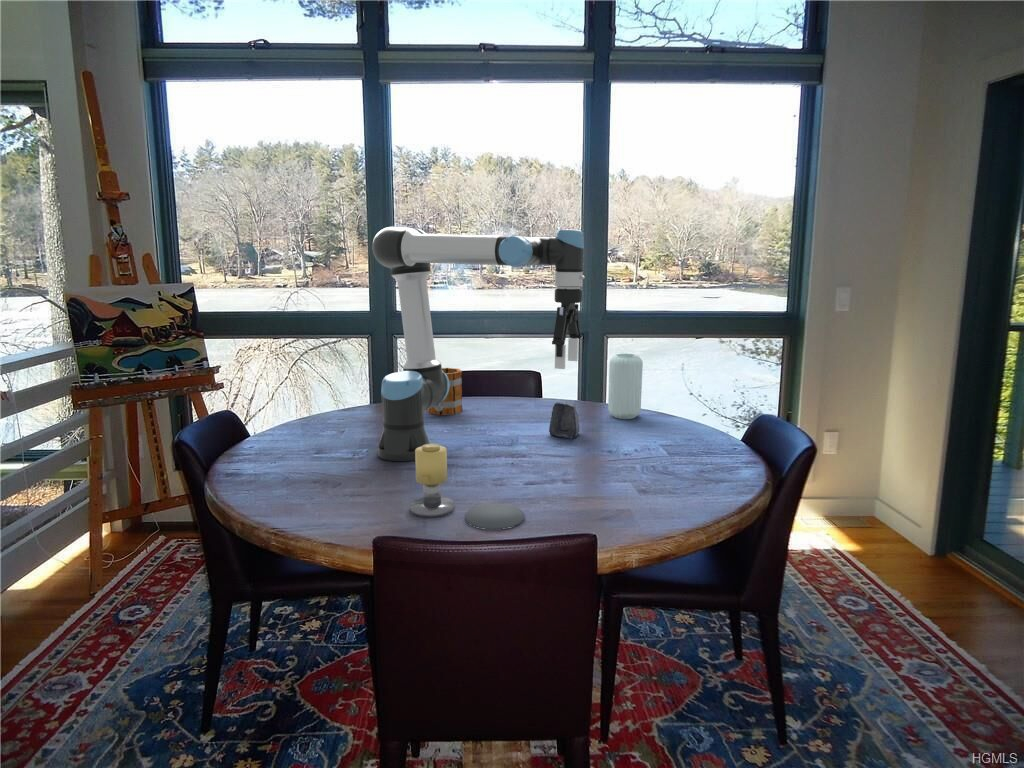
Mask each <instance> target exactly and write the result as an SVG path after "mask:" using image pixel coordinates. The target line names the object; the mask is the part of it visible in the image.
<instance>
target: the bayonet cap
mask: <svg viewBox="0 0 1024 768" xmlns="http://www.w3.org/2000/svg"><path fill="white" fill-rule="evenodd" d="M414 461H415V481H416V482H417V483H418V484H420V485H423V484H425V485H435V484H444V483H445V482H446V481H448V449H447V447H446V446H443V445H441V444H439V443H430V444H425V445H423V446H421V447H418V448H416V449H415V460H414Z"/></svg>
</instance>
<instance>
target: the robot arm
mask: <svg viewBox="0 0 1024 768" xmlns="http://www.w3.org/2000/svg"><path fill="white" fill-rule="evenodd" d="M584 238H585V237H584V232H583V231H582V230H579V229H557V230H556V232H555V235H554V236H551V237H550V236H549V237H546V236H545V237H544V236H540V237H539V236H522V235H515V234H514V235H485V234H484V235H479V234H478V235H476V234H475V235H474V234H472V235H471V234H431V233H426V232H425V231H423V230H421V229H419V228H417V227H416V228H415V227H398V226H388V227H384V228H383V229H381V230H379V231H378V232H377V233H376V235H375V236H374V238H373V241H372V246H371V249H372V254H373V256H374V258H375V260H376V261H377V262H378V263H379V264H380V265H381V266H383V267H385V268H388V269H390V274H391V277H392V278H393V279H395V281H397V286H398V287H397V288H398V289H397V290H398V297H399V305H400V312H401V321H402V327H403V328H402V329H403V337H404V345H405V346H404V347H405V353H406V362H405V363H404V365H403V366H402V371H398V372H397V371H396V372H392V373H389V374H387V375H385V376H384V377H383V379H382V381H381V388H380V389H381V390H380V393H381V408H382V411H381V412H382V432H381V435H380V439H379V442H378V446H377V456H378V458H380V459H381V460H382V459H383V460H386V461H392V462H411V461H415V449H416V448H418V447H421V446H423V445H425V444H431V443H430V441H429V437H428V435H427V432H426V429H425V421H424V420H425V419H424V415H425V414H424V412H425V411H427V409H429V408H432V407H435V406H437V405H438V404H440V403H441V402H442V401H443V400H444V399H445V398H446V396H447V395H448V392H449V387H450V384H449V379H448V377H447V375H446V374H445V373H444V372H443V370H442V368H443V367H442V362H441V361H440V360H439V359H438V358H436V352H435V351H436V350H435V342H434V341H435V340H434V334H433V325H432V317H431V316H432V315H431V309H430V299H429V298H430V297H429V291H428V280H427V279H428V277H429V275H430V274H431V272H432V270H431V264H450V265H453V264H454V265H457V264H458V265H484V266H485V265H486V266H487V265H488V266H489V265H491V266H507V267H508V266H510V267H515V268H516V267H522V266H554V268H555V269H554V286H555V287H556V288H555V289H554V302H555V303H558V304H559V303H560V306H557V307H556V319H555V324H554V331H553V339H552V340H551V343H552V344H551V345H554V347H555V348H554V369H558V370H559V369H560V370H565V369H566V350H567V361H568V362H578V357H579V356H578V354H579V353H578V352H579V339H581V338H582V334H581V326H580V325H581V324H580V316H579V315H580V313H579V304H580V303H582V302H583V290H582V288H581V287H583V280H585V275H583V271H584V270H583V269H584V255H585V254H584V249H585V246H584V245H585V243H584V241H585V240H584ZM567 334H568V336H569V337H568V339H567ZM566 339H567V343H568V344H567V345H566ZM566 346H567V347H566Z"/></svg>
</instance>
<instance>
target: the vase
mask: <svg viewBox="0 0 1024 768" xmlns="http://www.w3.org/2000/svg"><path fill="white" fill-rule="evenodd" d="M643 365H644V364H643V360H642V358H641V357H640V356H638V354H635V353H627V352H626V353H623V352H622V353H617V354H616V353H615V355H613V356H612V357H611V358H610V360H609V366H608V367H609V369H608V371H609V372H608V373H609V374H608V399H607V400H608V402H607V409H608V412H609V414H610V415H611V416H612V417H614V418H615V419H619V420H631V419H635V418H636V417H637V416H638V415H639V414H640V413H641V410H642V392H643V391H642V389H643V388H642V387H643Z"/></svg>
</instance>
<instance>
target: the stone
mask: <svg viewBox="0 0 1024 768" xmlns="http://www.w3.org/2000/svg"><path fill="white" fill-rule="evenodd" d="M579 419H580V418H579V414H578V411H577V407H576V403H575V402H574V403H573V402H572V403H570V402H568V401H560V402H559V401H558V402H555V403H554V404H553V406H552V410H551V418H550V423H549V427H548V428H549V430H548V432H549V435H550V436H553V437H554V436H555V437H559V438H560V437H561V438H566V439H575V438H577V436H578V434H579V432H580V420H579Z"/></svg>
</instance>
